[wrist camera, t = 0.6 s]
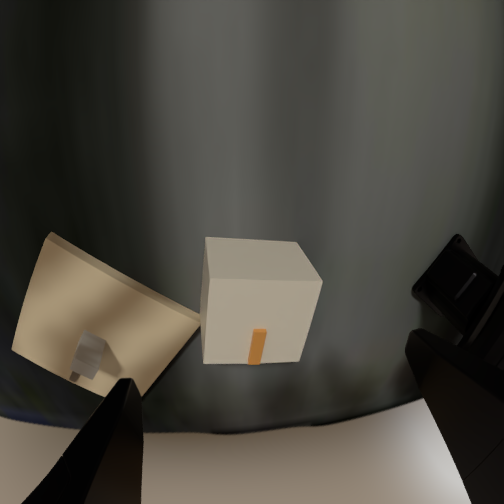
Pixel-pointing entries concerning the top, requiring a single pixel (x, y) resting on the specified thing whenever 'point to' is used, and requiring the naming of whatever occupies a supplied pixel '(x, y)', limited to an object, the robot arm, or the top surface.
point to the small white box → (255, 301)
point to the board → (97, 322)
